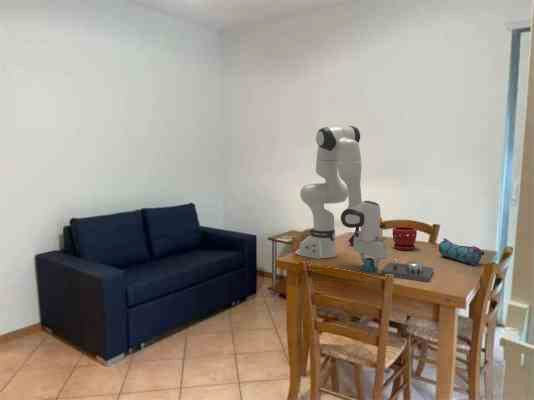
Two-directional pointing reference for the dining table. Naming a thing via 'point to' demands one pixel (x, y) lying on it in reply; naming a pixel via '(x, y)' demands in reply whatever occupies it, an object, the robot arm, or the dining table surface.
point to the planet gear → (369, 265)
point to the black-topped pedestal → (381, 227)
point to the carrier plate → (408, 270)
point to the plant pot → (404, 237)
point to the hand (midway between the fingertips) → (369, 264)
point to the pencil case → (460, 252)
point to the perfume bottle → (353, 236)
